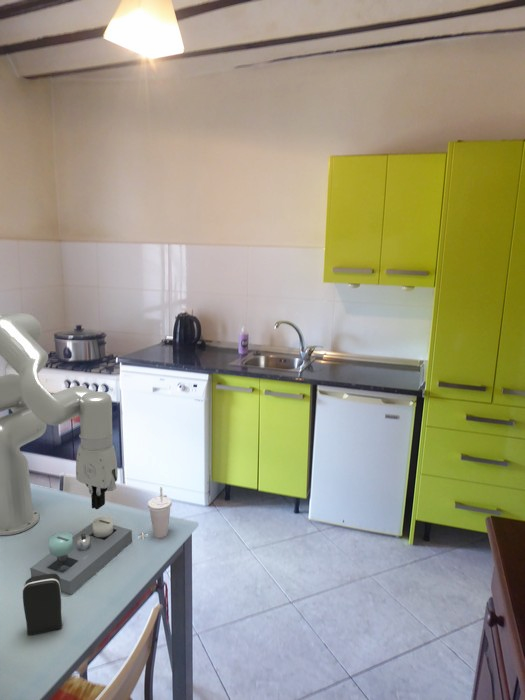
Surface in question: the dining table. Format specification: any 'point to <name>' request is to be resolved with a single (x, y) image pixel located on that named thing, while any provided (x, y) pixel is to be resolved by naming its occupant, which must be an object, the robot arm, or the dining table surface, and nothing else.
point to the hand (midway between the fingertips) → (98, 506)
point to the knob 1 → (61, 545)
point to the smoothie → (160, 514)
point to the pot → (83, 542)
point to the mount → (84, 558)
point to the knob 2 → (102, 527)
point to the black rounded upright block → (43, 603)
